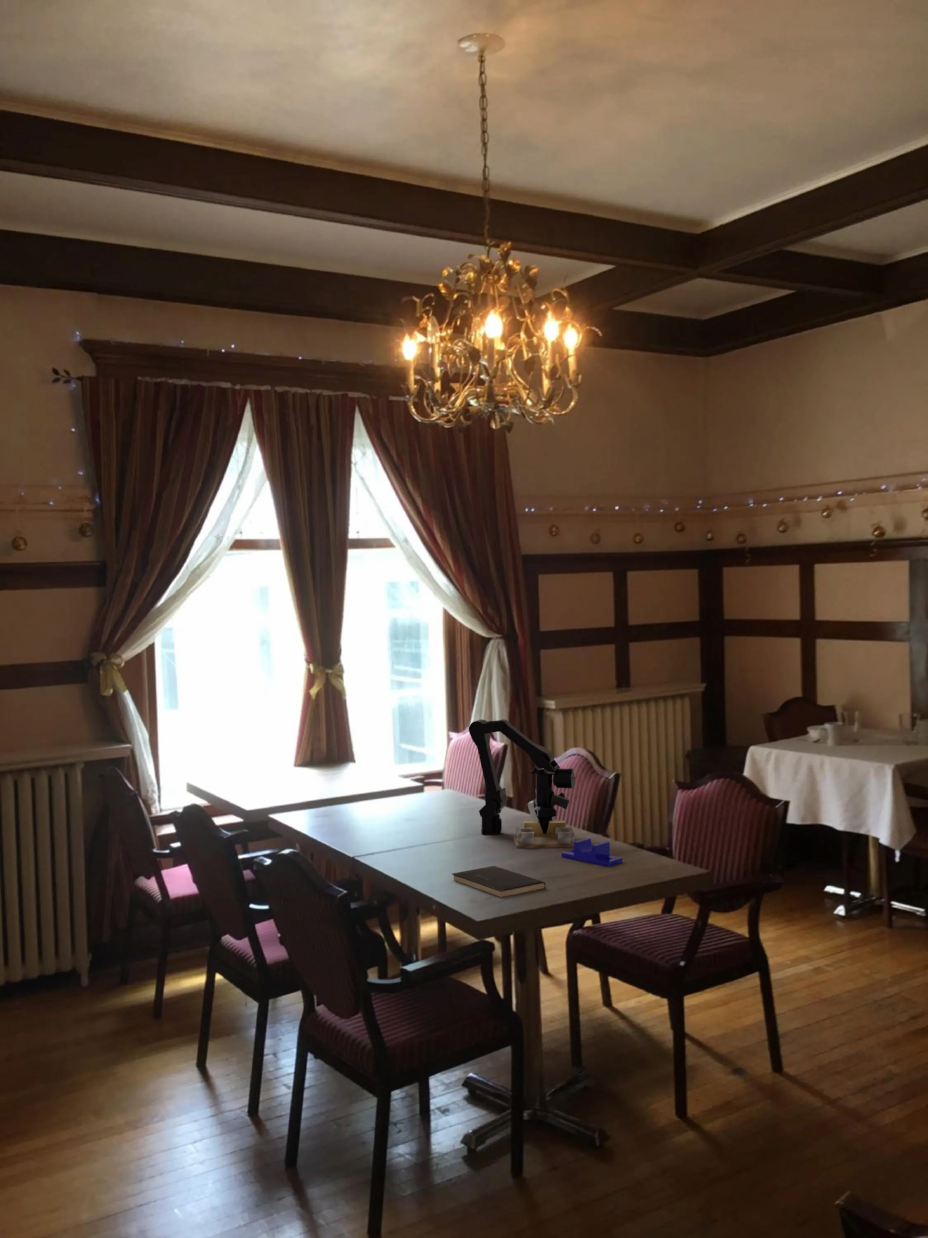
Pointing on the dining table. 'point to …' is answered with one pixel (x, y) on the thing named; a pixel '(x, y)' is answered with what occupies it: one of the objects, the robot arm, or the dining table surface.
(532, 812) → the grey curved slab
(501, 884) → the hardcover book
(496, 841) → the dining table surface
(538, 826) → the brass link
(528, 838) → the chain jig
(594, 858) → the mounting bracket
